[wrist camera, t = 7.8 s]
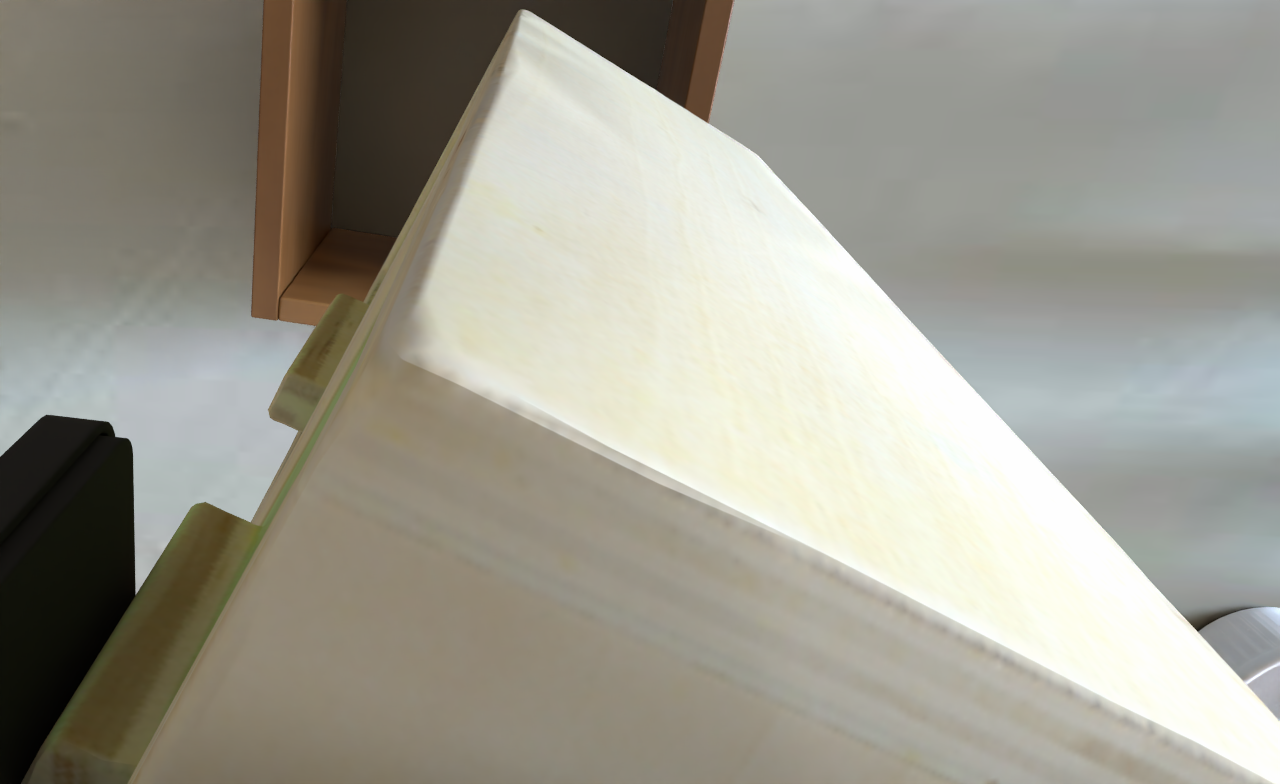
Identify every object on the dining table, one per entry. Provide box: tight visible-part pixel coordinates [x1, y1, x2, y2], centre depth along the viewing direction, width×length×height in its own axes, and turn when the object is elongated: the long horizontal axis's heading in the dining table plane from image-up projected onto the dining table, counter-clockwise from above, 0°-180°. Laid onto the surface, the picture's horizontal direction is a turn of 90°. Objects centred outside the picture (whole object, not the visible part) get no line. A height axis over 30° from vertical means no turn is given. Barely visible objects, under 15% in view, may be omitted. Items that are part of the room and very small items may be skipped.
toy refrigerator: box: [21, 9, 1280, 784], centre depth 16 cm, size 8×7×21 cm
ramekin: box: [1198, 607, 1280, 721], centre depth 49 cm, size 9×9×4 cm
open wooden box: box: [251, 0, 734, 326], centre depth 34 cm, size 13×13×8 cm
